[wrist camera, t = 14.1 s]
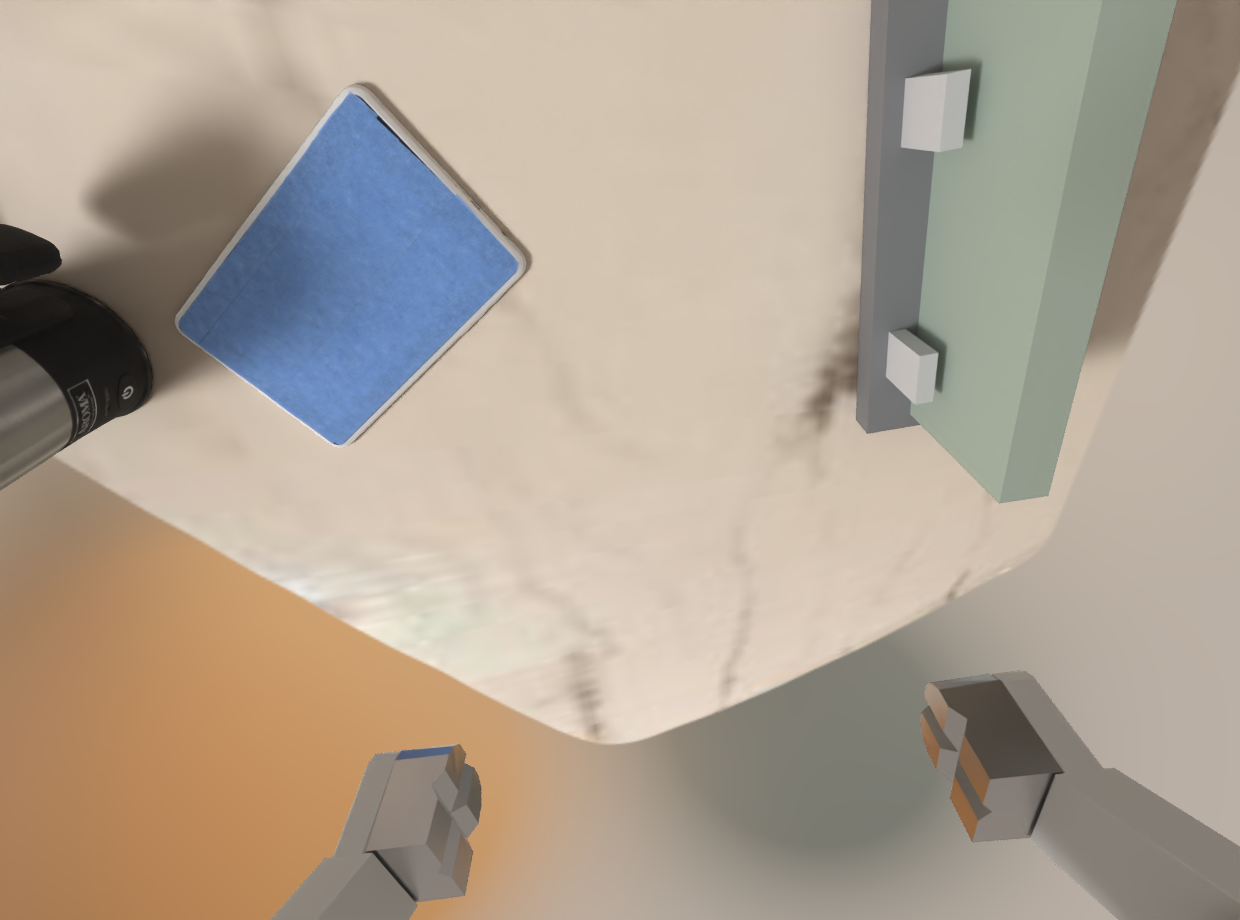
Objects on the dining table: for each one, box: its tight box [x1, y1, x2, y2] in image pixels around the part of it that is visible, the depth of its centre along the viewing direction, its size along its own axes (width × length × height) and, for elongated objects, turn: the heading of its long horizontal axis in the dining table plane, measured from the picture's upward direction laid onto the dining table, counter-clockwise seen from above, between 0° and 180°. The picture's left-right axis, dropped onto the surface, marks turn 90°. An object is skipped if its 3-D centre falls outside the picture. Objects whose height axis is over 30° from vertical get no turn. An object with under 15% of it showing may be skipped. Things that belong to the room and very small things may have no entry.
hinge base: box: [856, 0, 971, 434], centre depth 31 cm, size 24×8×6 cm, turn 11°
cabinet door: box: [910, 0, 1177, 503], centre depth 27 cm, size 22×4×10 cm, turn 11°
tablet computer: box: [175, 84, 527, 448], centre depth 35 cm, size 19×13×1 cm, turn 132°
